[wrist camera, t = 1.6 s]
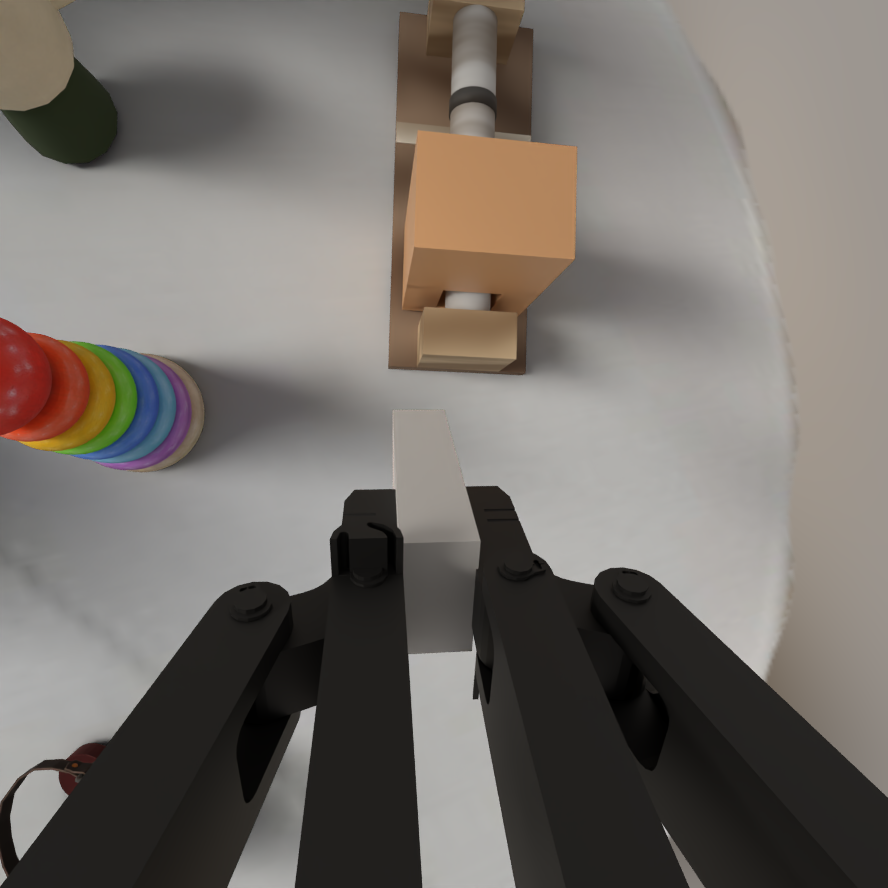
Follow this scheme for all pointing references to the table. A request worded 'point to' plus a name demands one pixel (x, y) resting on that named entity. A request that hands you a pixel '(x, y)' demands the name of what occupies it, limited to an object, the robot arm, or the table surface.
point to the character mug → (51, 85)
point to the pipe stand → (465, 113)
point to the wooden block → (487, 219)
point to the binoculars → (69, 777)
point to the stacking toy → (96, 401)
